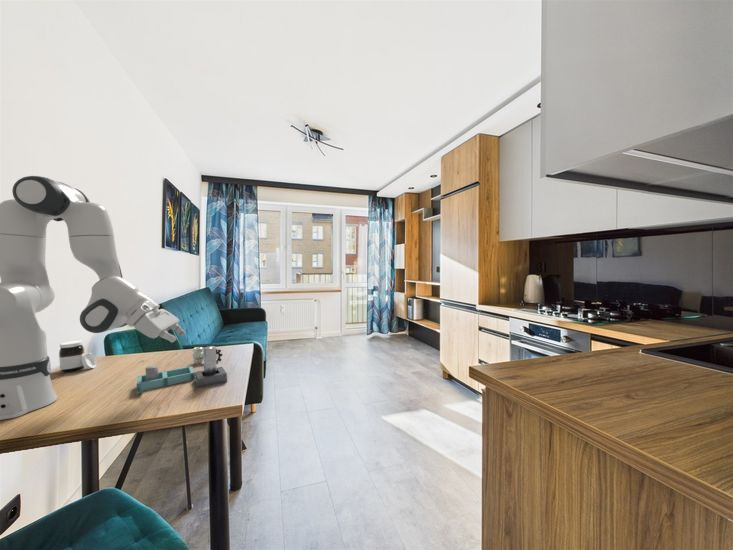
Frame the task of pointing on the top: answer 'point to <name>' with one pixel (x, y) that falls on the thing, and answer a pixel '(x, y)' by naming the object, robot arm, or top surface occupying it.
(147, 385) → the rack
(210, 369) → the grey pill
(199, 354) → the valve
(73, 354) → the spread jar
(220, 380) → the socket block
